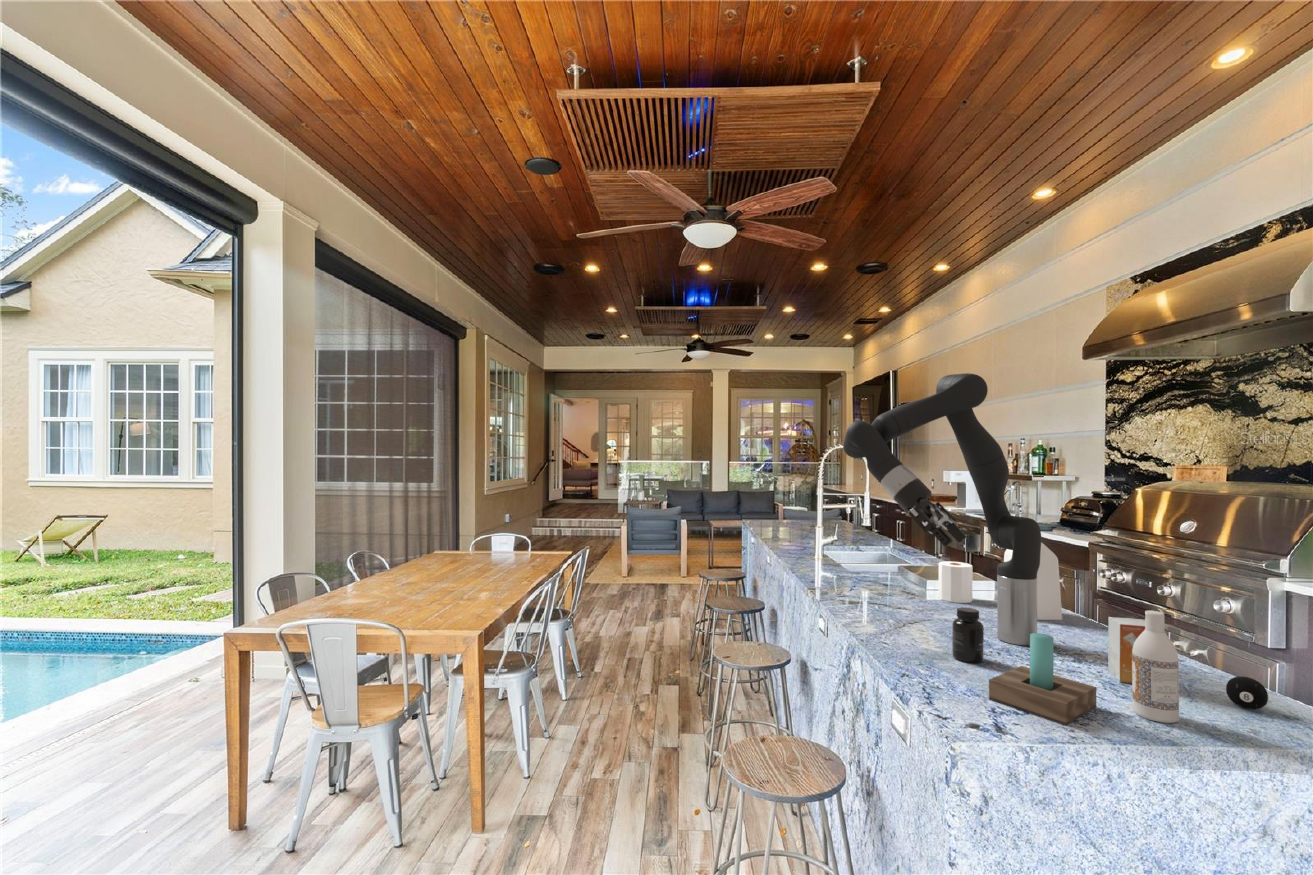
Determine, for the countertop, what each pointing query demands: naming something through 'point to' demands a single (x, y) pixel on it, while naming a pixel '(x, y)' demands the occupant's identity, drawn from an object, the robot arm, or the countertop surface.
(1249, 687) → the billiard ball
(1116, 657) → the small box
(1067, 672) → the countertop surface
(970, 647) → the supplement bottle
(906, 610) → the countertop surface
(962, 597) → the toilet paper
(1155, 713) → the bath foam
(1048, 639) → the pin
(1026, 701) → the bore block
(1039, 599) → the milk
